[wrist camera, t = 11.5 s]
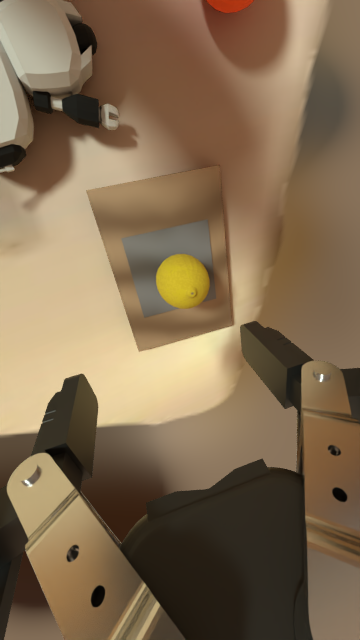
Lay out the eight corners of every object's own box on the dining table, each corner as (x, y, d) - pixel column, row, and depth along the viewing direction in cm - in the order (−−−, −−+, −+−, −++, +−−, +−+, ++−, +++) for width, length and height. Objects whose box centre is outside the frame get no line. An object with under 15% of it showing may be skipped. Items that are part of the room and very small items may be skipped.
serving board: (87, 191, 24) (85, 190, 22) (214, 166, 26) (220, 164, 24) (138, 345, 34) (139, 352, 32) (227, 320, 35) (232, 325, 34)
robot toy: (58, -52, 18) (-155, -7, 16) (46, -127, 14) (-239, -78, 12) (124, 140, 24) (-24, 189, 22) (129, 127, 20) (-51, 185, 18)
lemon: (200, 252, 28) (227, 268, 21) (190, 295, 30) (212, 322, 23) (155, 244, 26) (168, 258, 19) (148, 290, 28) (158, 318, 21)
